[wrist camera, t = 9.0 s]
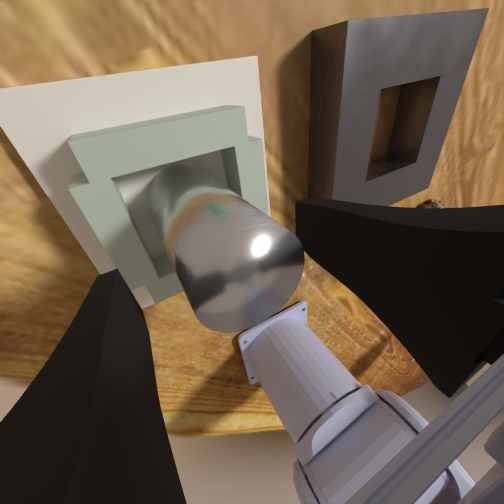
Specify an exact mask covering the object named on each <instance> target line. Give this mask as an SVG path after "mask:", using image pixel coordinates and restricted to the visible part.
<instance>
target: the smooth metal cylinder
mask: <svg viewBox="0 0 504 504" xmlns="http://www.w3.org/2000/svg"><path fill="white" fill-rule="evenodd" d="M146 207H147V211H148V213H149V216H150V218H151V220H152V222H153V224H154V227H155V229H156V231H157V233H158V235H159V237H160V240H161V242H162V244H163V246H164V248H165V250H166V253H167V255H168V257H169V259H170V261H171V263H172V266H173V268H174V270H175V272H176V274H177V277H178V279H179V281H180V283H181V285H182V287H183V290H184V292H185V294H186V296H187V298H188V300H189V303H190V305H191V307H192V309H193V311H194V313H195V315H196V317H197V319H198V320H199V321H200V322H201V323H202V324H203V325H204V326H205V327H207V328H209V329H211V330H214V331H218V332H228V333H229V332H237V331H242V330H245V329H248V328H251V327H253V326H256V325H258V324H260V323H261V322H263V321H265V320H266V319H268V318H269V317H271V316H272V315H273V314H274V313H276V312H277V311H278V310H279V309H280V308H281V307H282V306H283V305H284V304H285V303H286V302H287V301H288V299H289V298H290V297H291V295H292V294H293V292H294V291H295V289H296V287H297V285H298V283H299V281H300V279H301V276H302V273H303V268H304V260H305V259H304V251H303V247H302V244H301V242H300V241H299V239H298V238H297V237H296V236H295V235H294V234H293V233H292V232H291V231H289V230H288V229H286V228H285V227H283V226H282V225H280V224H279V223H278V222H276V221H275V220H273V219H272V218H270V217H269V216H268V215H266V214H265V213H263V212H262V211H260V210H259V209H257V208H256V207H255V206H253V205H252V204H250V203H249V202H247V201H246V200H244V199H243V198H242V197H240V196H239V195H237V194H236V193H234V192H233V191H231V190H230V189H229V188H227V187H226V186H224V185H223V184H221V183H220V182H219V181H217V180H216V179H214V178H213V177H211V176H210V175H208V174H207V173H206V172H204V171H203V170H201V169H199V168H197V167H194V166H191V165H175V166H171V167H168V168H166V169H164V170H163V171H161V172H160V173H159V174H157V175H156V176H155V178H154V179H153V180H152V182H151V183H150V185H149V187H148V190H147V194H146Z"/></svg>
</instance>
